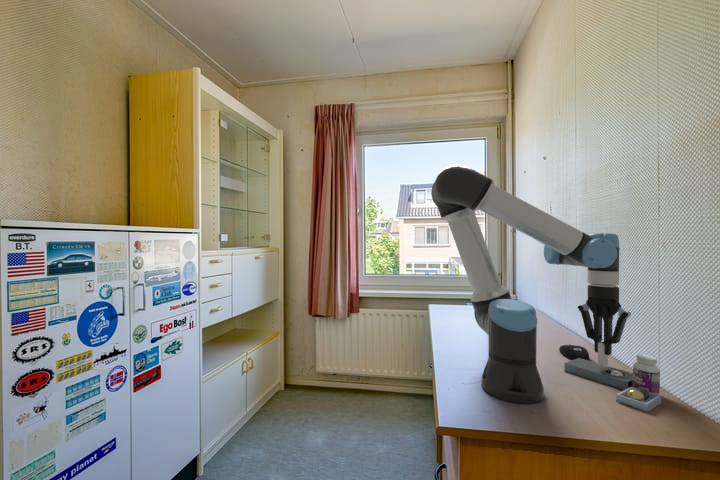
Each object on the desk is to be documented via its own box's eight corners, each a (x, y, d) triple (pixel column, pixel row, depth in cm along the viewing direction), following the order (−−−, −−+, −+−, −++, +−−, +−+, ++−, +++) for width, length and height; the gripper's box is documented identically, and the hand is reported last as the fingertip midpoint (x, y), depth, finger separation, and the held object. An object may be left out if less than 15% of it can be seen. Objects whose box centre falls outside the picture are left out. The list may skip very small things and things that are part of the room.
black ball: (646, 402, 79) (646, 391, 79) (632, 397, 82) (632, 386, 82) (651, 399, 81) (651, 388, 81) (637, 395, 83) (637, 384, 83)
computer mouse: (569, 362, 108) (569, 350, 108) (556, 351, 120) (556, 340, 120) (595, 364, 106) (595, 352, 106) (579, 353, 118) (579, 342, 118)
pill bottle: (627, 389, 87) (628, 354, 87) (641, 387, 89) (642, 352, 89) (650, 399, 82) (651, 361, 82) (664, 396, 84) (665, 359, 84)
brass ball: (641, 407, 77) (641, 393, 77) (624, 401, 80) (624, 388, 80) (646, 403, 79) (646, 390, 79) (630, 398, 81) (630, 385, 81)
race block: (627, 391, 86) (627, 382, 86) (564, 370, 100) (564, 362, 100) (641, 384, 91) (641, 375, 91) (578, 365, 105) (579, 357, 105)
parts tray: (647, 412, 75) (647, 404, 75) (616, 401, 80) (616, 394, 80) (661, 403, 80) (661, 395, 80) (631, 393, 85) (631, 386, 85)
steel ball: (623, 379, 89) (613, 369, 92) (615, 386, 91) (605, 375, 93) (629, 377, 91) (618, 367, 93) (620, 383, 93) (610, 373, 95)
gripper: (635, 287, 92) (635, 369, 91) (584, 282, 103) (584, 355, 103) (624, 288, 88) (624, 375, 87) (572, 283, 99) (572, 360, 99)
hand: (602, 364), depth 95 cm, fingers closed
